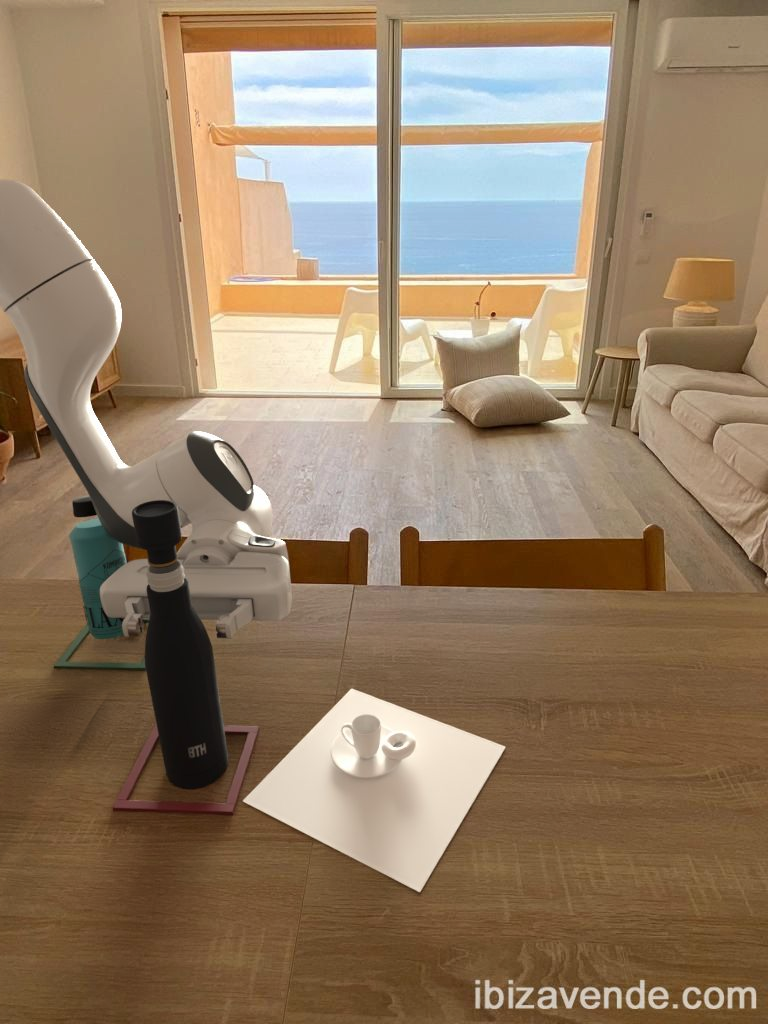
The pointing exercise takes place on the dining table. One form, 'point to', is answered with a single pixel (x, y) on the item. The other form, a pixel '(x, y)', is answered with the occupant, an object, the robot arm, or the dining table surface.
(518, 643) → the dining table surface
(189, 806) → the red square
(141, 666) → the green square
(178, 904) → the dining table surface
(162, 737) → the insulated water bottle
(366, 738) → the teacup and saucer
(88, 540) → the beverage bottle
